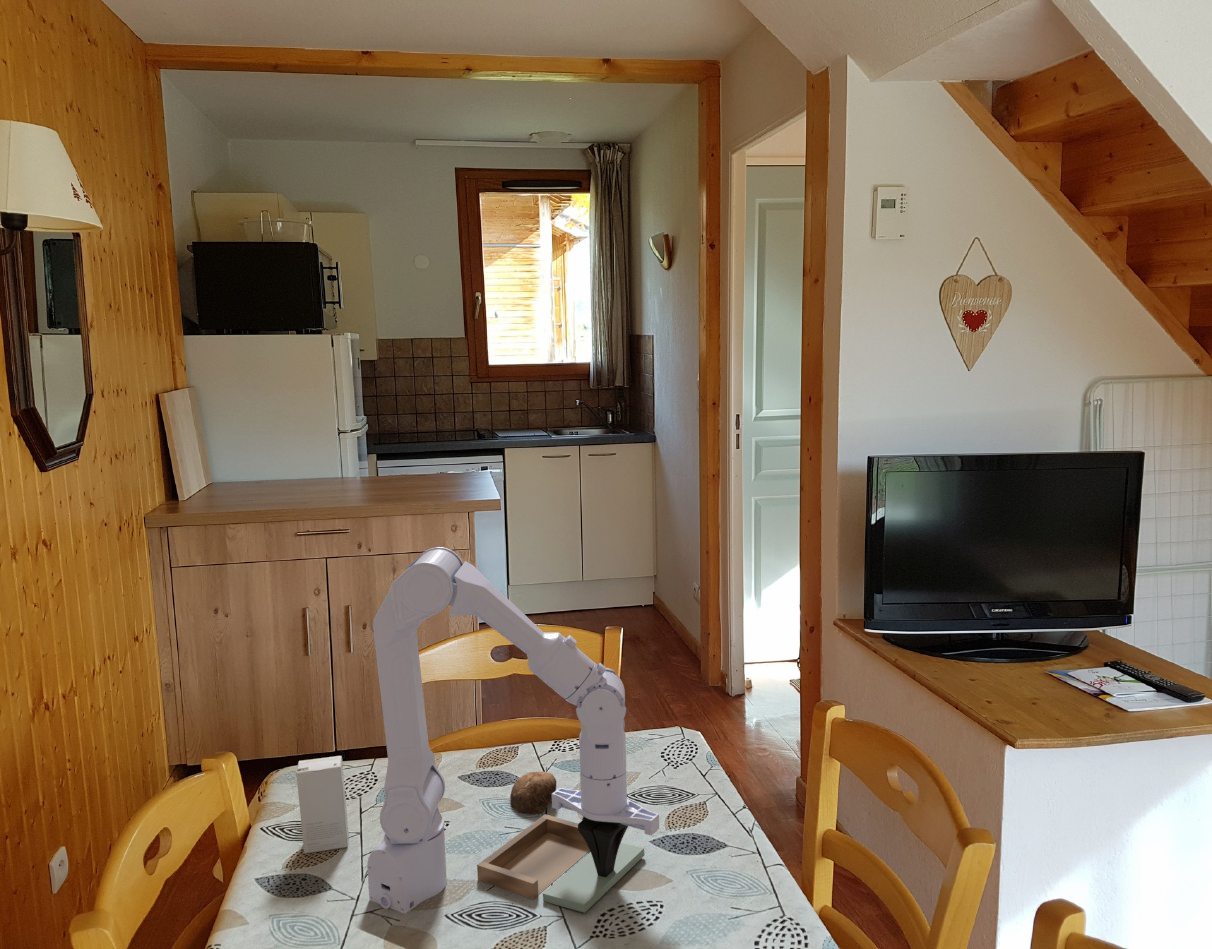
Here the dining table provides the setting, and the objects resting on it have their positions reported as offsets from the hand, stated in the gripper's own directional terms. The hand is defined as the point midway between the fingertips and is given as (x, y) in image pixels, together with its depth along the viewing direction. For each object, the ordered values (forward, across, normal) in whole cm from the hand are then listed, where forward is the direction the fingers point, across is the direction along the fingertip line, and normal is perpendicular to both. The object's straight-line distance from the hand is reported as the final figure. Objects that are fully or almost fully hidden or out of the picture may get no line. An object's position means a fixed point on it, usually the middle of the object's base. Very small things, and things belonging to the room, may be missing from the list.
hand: (605, 872), depth 119 cm
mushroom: (+3, +20, -13) cm, 24 cm away
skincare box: (+3, +40, +9) cm, 42 cm away
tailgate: (+1, +4, 0) cm, 5 cm away
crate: (+3, +10, 0) cm, 10 cm away
